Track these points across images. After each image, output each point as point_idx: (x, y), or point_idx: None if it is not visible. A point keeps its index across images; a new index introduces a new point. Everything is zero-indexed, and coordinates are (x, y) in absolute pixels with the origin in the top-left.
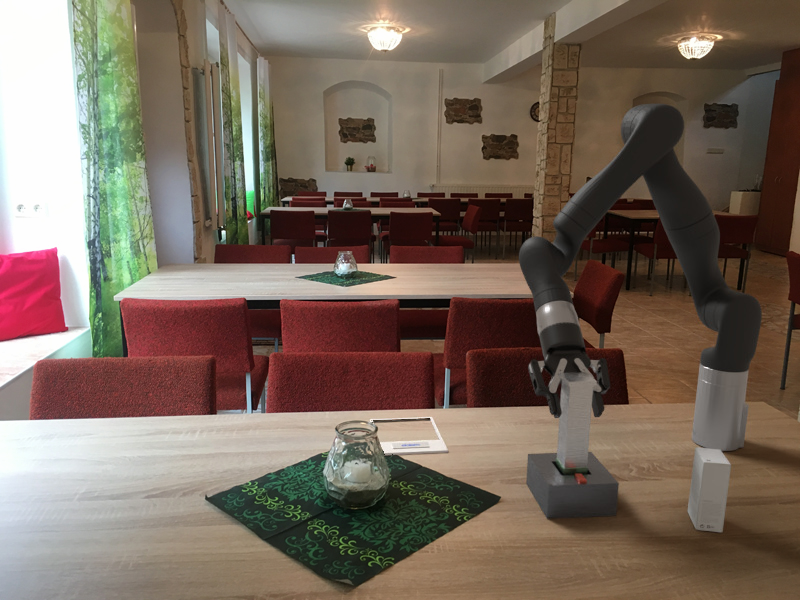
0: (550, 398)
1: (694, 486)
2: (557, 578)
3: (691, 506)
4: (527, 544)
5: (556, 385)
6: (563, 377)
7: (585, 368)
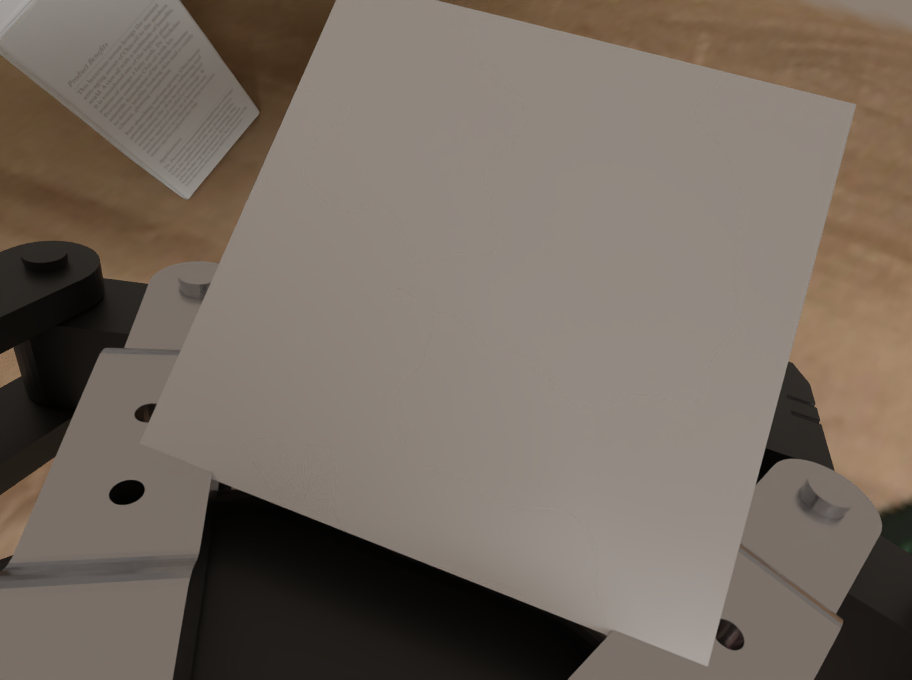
0: (827, 463)
1: (152, 95)
2: (844, 72)
3: (196, 145)
4: (842, 245)
5: (757, 526)
6: (771, 394)
7: (64, 504)
